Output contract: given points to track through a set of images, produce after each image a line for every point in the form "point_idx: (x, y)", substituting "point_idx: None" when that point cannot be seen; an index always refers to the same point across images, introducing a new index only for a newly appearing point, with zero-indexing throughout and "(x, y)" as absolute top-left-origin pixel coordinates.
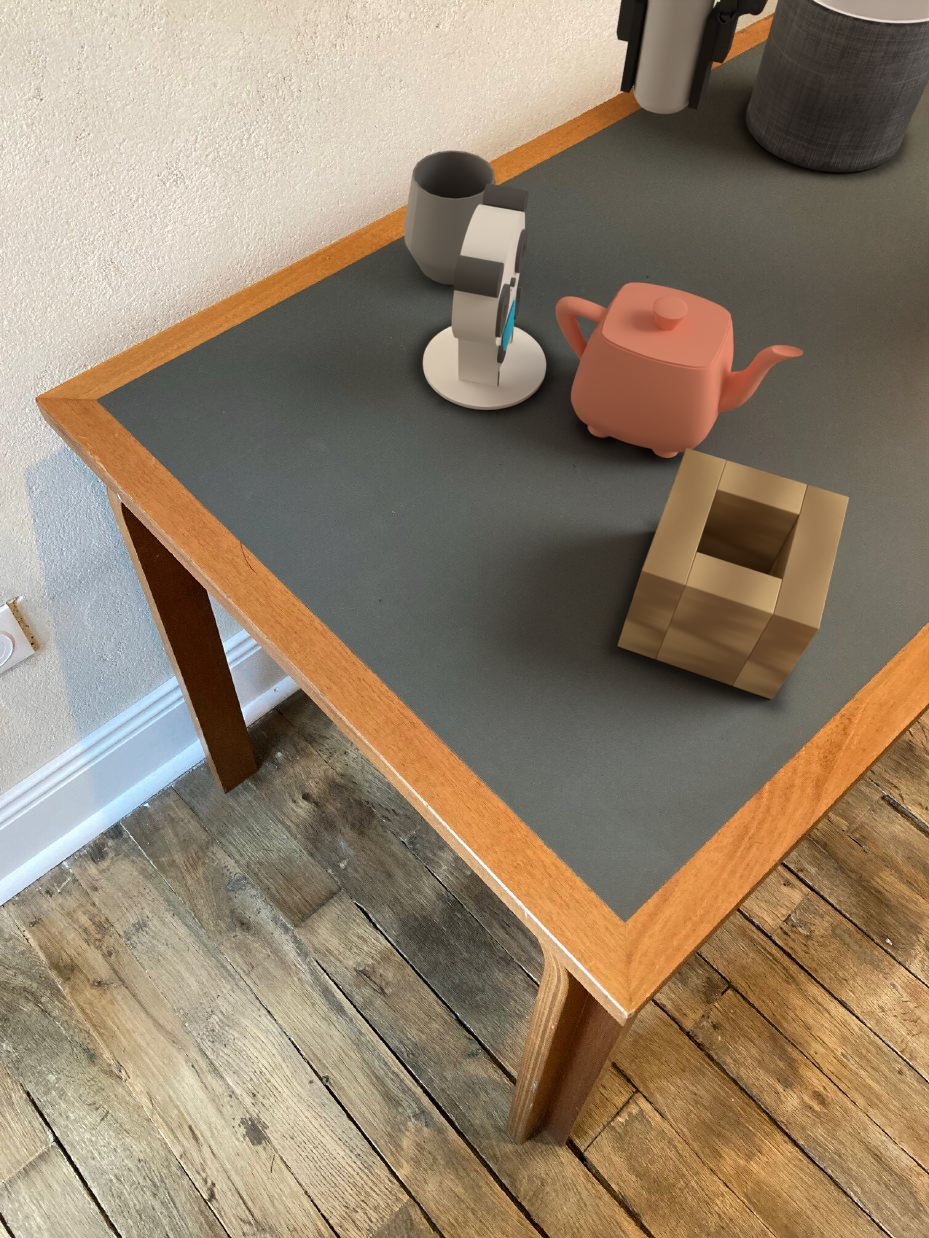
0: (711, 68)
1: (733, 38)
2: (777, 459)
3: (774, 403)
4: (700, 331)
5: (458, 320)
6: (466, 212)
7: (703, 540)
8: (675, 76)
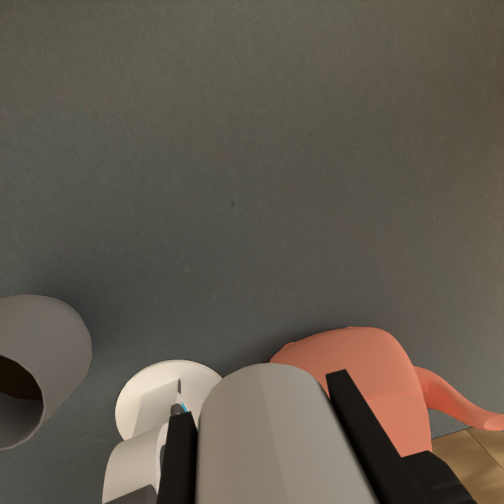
0: (367, 404)
1: (464, 487)
2: (442, 340)
3: (420, 286)
4: (405, 439)
5: None
6: (49, 417)
7: None
8: None
